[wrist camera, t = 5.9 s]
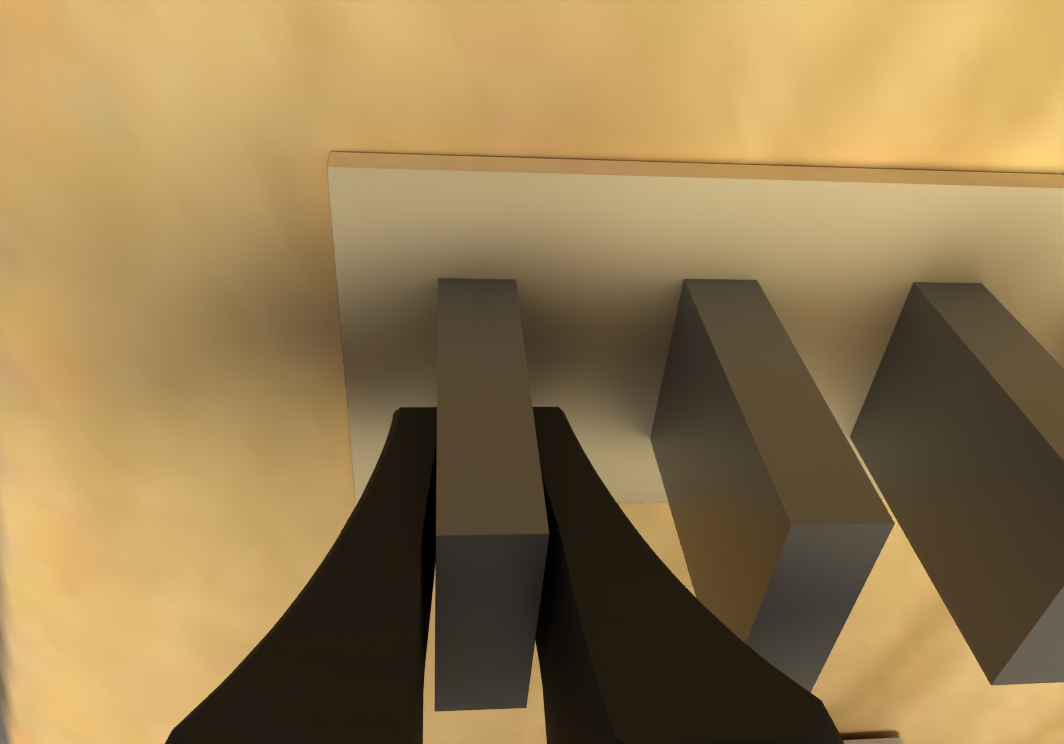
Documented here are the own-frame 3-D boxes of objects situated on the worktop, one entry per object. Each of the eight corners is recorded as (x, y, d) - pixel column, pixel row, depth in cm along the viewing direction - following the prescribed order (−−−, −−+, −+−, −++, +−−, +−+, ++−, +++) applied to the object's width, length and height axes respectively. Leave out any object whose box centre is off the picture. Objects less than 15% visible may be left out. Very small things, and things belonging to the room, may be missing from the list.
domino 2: (713, 438, 18) (810, 692, 13) (650, 438, 18) (725, 696, 13) (756, 279, 16) (894, 523, 11) (683, 278, 15) (791, 525, 11)
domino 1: (503, 442, 18) (526, 707, 13) (436, 442, 17) (434, 711, 13) (515, 279, 15) (548, 533, 10) (438, 277, 15) (435, 535, 10)
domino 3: (909, 436, 18) (1069, 681, 14) (849, 437, 18) (991, 685, 14) (981, 282, 16) (1206, 517, 11) (913, 281, 16) (1112, 519, 11)
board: (1437, 473, 22) (1459, 490, 21) (358, 487, 19) (356, 507, 18) (1725, 194, 17) (1761, 208, 17) (331, 151, 14) (326, 167, 13)
